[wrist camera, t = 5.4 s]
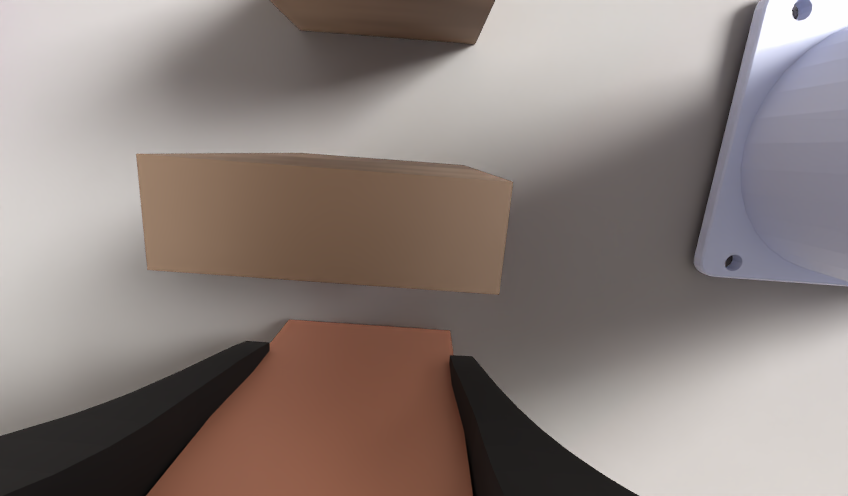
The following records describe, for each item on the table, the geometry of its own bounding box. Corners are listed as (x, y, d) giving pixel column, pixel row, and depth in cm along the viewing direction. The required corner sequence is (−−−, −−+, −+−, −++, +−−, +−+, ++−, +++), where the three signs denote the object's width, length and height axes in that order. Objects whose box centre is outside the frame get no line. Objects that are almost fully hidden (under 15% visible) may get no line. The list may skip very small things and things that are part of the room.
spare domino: (450, 330, 12) (481, 553, 5) (445, 376, 13) (469, 638, 6) (288, 319, 12) (116, 531, 5) (289, 365, 13) (128, 619, 6)
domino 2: (463, 165, 12) (512, 182, 5) (458, 216, 12) (499, 294, 6) (300, 153, 12) (135, 154, 5) (300, 205, 12) (147, 269, 6)
